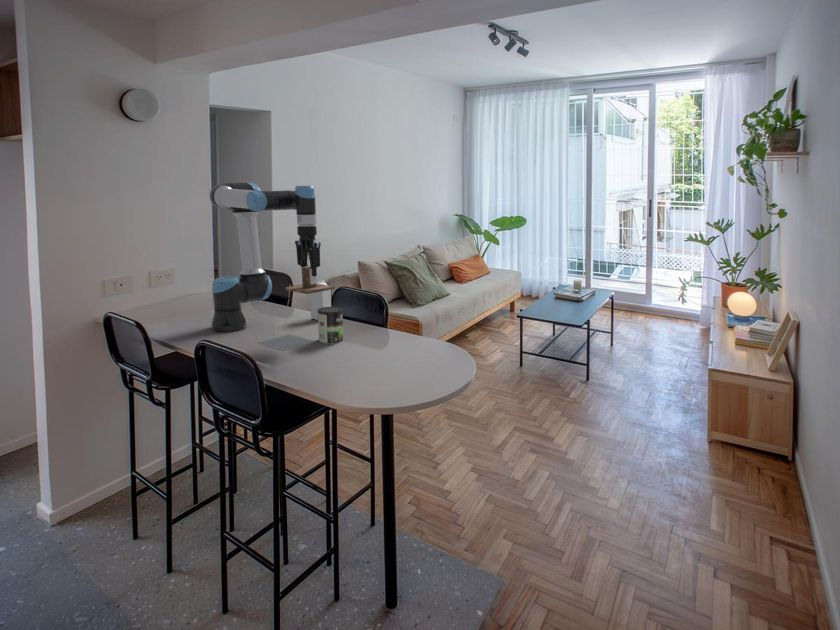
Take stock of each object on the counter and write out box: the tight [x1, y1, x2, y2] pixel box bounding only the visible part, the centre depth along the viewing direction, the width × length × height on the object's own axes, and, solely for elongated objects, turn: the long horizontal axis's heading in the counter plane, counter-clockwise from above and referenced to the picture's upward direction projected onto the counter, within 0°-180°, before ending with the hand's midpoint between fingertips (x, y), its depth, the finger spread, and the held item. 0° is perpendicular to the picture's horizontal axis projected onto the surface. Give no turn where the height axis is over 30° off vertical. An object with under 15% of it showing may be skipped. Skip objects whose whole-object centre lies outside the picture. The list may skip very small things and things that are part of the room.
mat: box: [257, 334, 316, 352], centre depth 227 cm, size 17×17×1 cm
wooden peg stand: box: [284, 266, 335, 295], centre depth 222 cm, size 14×14×9 cm
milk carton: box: [309, 279, 332, 321], centre depth 265 cm, size 7×7×19 cm
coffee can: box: [317, 306, 344, 345], centre depth 229 cm, size 10×10×14 cm
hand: (309, 283), depth 223 cm, fingers closed on wooden peg stand, 4 cm apart
